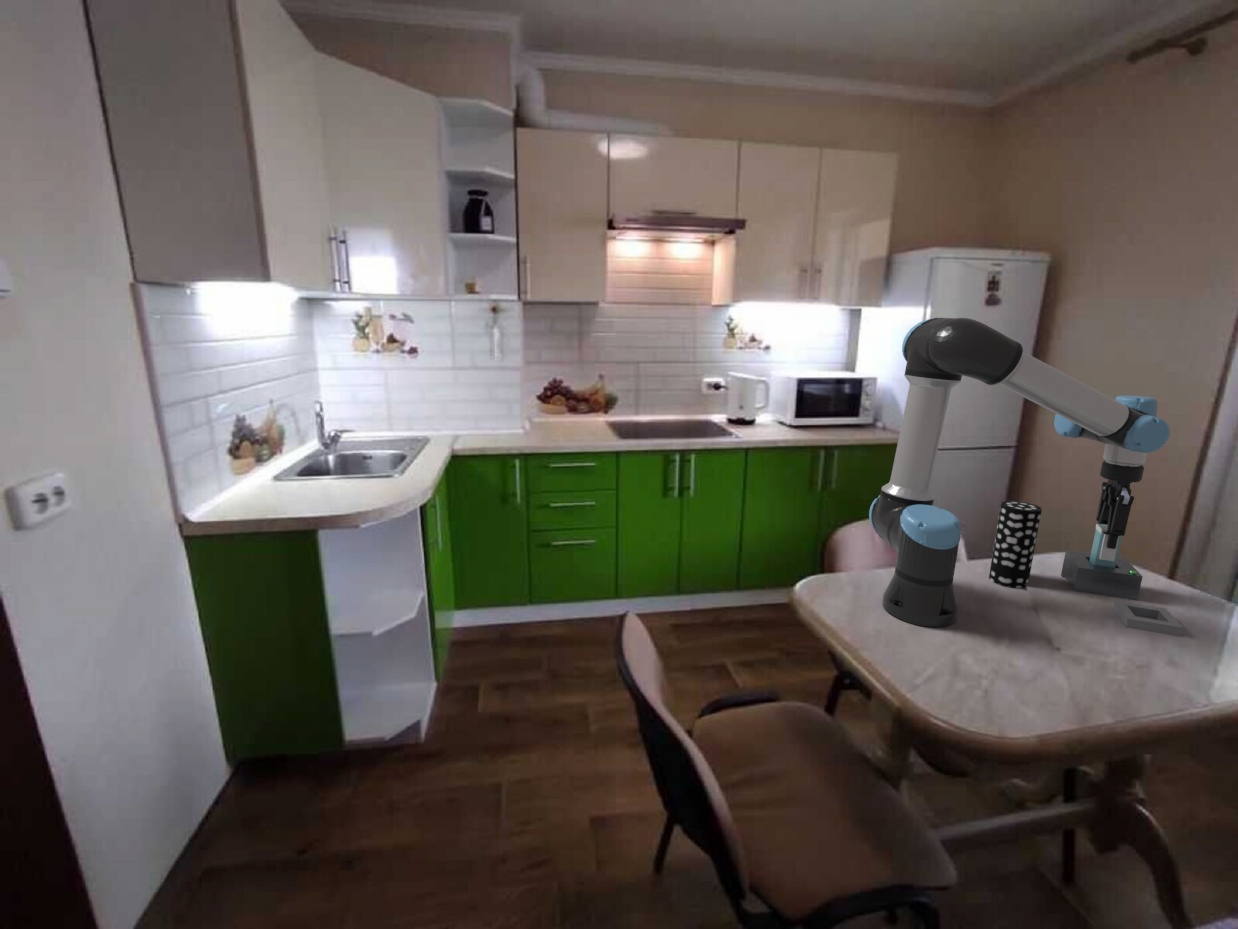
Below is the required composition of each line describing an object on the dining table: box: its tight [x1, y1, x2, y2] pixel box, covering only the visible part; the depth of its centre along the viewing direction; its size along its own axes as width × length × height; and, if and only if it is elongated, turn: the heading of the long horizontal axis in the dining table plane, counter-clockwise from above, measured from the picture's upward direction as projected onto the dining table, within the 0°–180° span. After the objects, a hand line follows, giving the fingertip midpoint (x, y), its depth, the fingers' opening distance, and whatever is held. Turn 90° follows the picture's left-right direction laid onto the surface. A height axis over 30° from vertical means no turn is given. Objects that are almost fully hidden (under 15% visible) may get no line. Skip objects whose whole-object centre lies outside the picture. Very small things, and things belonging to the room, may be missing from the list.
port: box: [1060, 549, 1143, 601], centre depth 143 cm, size 12×12×7 cm
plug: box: [1089, 523, 1123, 568], centre depth 141 cm, size 4×4×12 cm
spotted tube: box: [988, 500, 1043, 589], centre depth 146 cm, size 8×8×20 cm
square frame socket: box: [1111, 600, 1184, 637], centre depth 126 cm, size 9×9×3 cm
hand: (1103, 556), depth 142 cm, fingers closed on plug, 4 cm apart
